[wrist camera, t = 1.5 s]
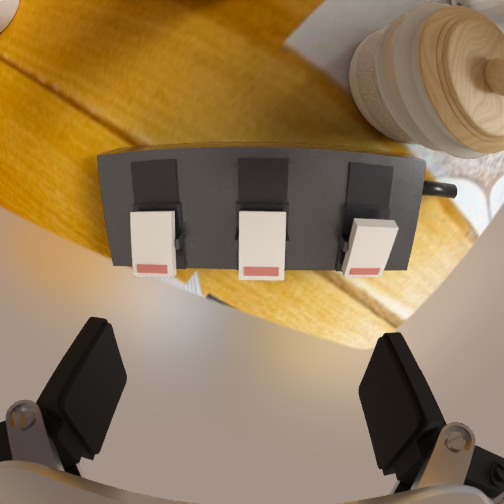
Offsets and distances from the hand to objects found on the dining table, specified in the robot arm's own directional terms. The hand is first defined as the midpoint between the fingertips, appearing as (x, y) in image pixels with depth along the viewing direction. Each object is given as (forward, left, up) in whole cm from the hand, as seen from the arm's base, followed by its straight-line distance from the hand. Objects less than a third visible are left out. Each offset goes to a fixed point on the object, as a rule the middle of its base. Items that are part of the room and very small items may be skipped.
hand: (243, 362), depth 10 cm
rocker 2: (-1, +4, -18) cm, 18 cm away
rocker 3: (-11, +4, -18) cm, 21 cm away
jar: (-16, -13, -25) cm, 32 cm away
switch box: (-4, +1, -25) cm, 25 cm away
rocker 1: (+9, +4, -18) cm, 20 cm away
